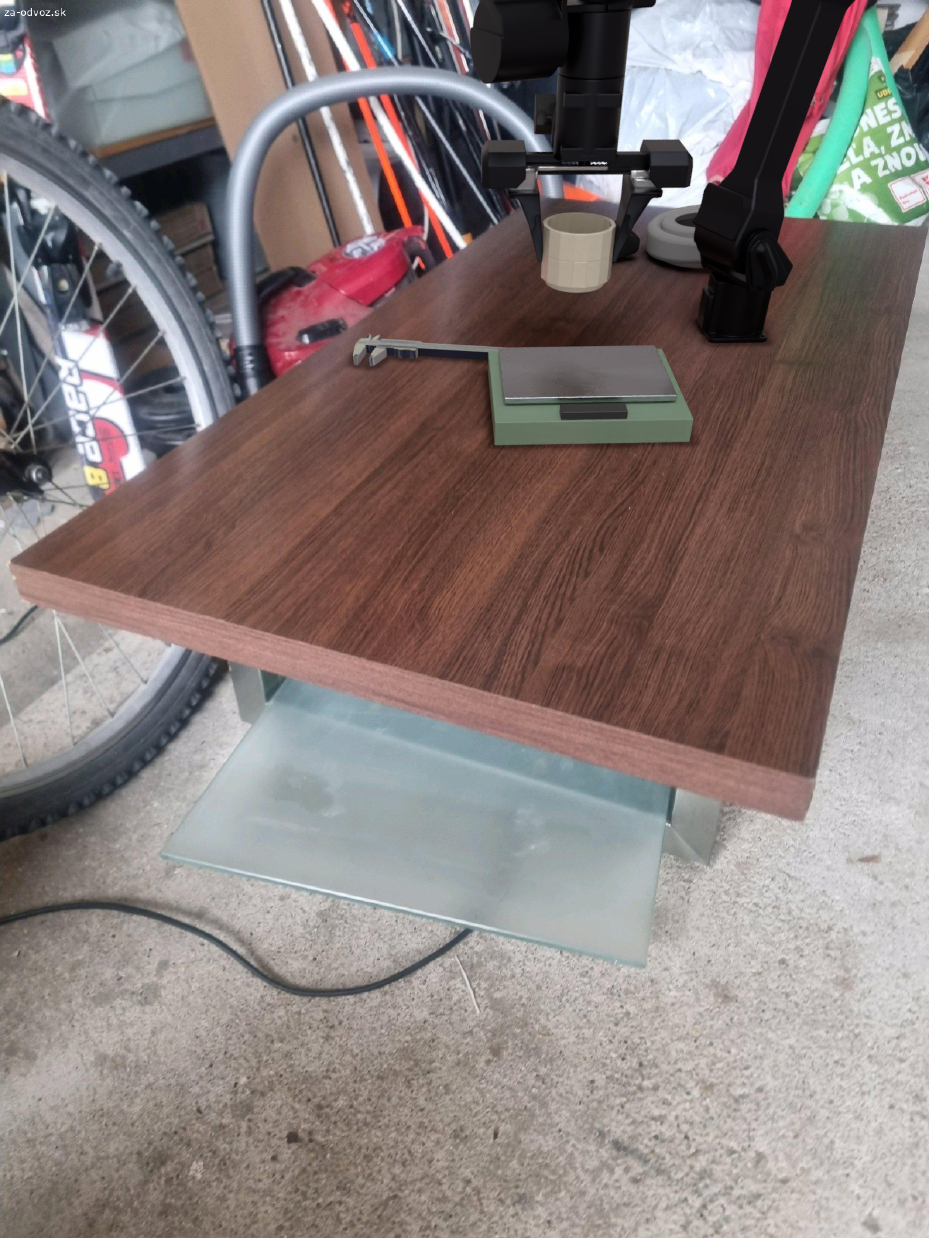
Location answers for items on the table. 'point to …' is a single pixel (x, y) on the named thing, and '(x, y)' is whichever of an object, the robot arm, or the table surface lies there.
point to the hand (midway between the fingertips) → (576, 261)
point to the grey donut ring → (674, 237)
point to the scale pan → (584, 374)
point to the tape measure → (630, 245)
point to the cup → (577, 251)
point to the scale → (587, 418)
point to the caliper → (415, 350)
